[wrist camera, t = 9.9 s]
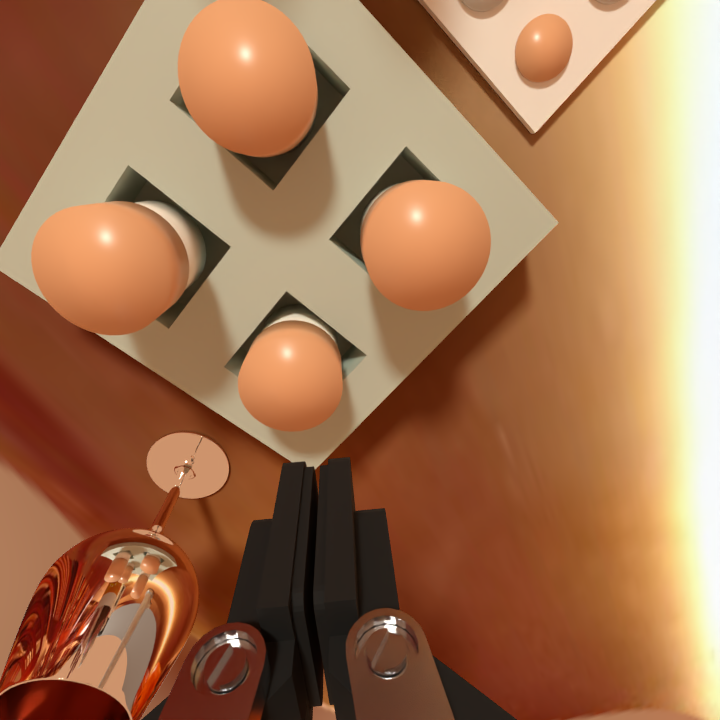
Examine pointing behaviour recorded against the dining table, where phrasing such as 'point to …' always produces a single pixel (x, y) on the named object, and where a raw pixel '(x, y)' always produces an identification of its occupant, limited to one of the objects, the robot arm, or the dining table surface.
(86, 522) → the dining table surface
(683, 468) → the dining table surface
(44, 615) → the wineglass
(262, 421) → the button
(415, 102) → the board
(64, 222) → the button
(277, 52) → the button
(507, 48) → the pattern tile
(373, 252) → the button
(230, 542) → the dining table surface
